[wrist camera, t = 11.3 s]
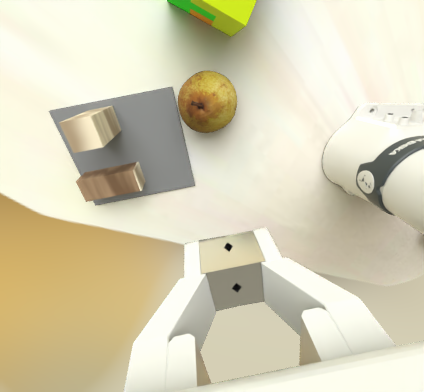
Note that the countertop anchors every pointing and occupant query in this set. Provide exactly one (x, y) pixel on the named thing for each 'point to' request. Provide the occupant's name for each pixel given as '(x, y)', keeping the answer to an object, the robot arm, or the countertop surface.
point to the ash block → (91, 129)
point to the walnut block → (111, 181)
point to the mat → (138, 142)
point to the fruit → (207, 101)
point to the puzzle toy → (219, 12)
